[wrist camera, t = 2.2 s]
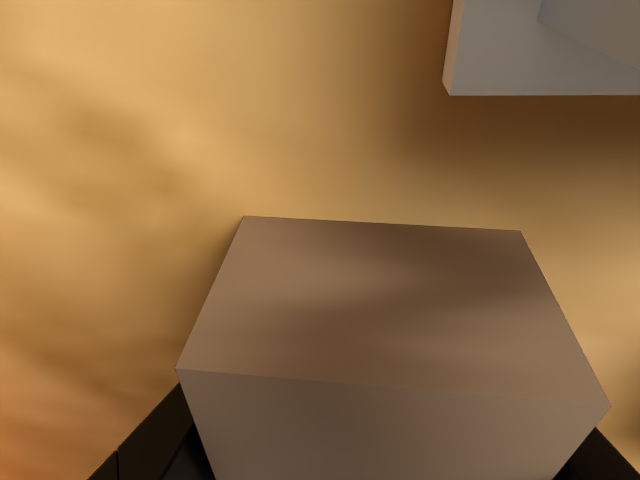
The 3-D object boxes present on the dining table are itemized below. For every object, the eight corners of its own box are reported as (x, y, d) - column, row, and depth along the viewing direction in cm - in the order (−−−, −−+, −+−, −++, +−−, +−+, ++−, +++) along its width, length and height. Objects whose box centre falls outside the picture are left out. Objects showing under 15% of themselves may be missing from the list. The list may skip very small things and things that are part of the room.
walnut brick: (520, 230, 8) (611, 405, 5) (460, 390, 12) (492, 552, 9) (244, 216, 9) (174, 368, 6) (266, 374, 13) (231, 521, 9)
